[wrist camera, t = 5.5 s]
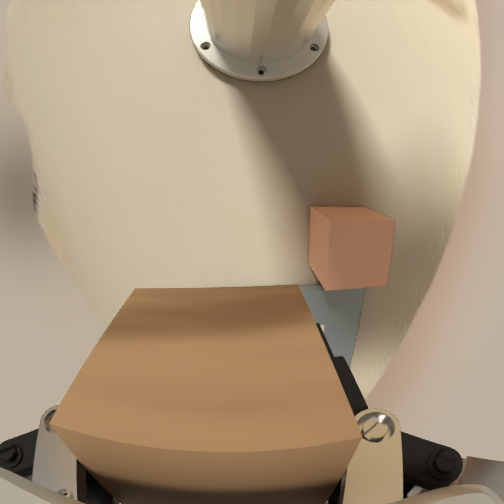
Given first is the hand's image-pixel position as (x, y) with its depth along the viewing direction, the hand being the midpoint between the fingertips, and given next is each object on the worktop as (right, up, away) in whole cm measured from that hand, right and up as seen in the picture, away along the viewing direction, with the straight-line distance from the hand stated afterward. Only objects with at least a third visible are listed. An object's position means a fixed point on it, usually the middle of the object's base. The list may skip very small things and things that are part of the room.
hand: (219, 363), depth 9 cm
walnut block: (0, 0, +1) cm, 1 cm away
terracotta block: (+9, +6, +17) cm, 20 cm away
